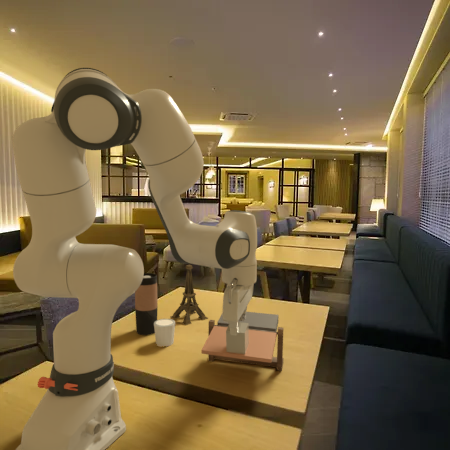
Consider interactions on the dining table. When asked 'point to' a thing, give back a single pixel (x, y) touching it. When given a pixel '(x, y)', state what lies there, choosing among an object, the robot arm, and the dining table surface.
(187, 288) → the eiffel tower
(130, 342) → the dining table surface
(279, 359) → the frame
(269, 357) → the trapdoor
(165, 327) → the shot glass
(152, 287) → the travel mug
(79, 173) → the robot arm
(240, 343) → the grey block
